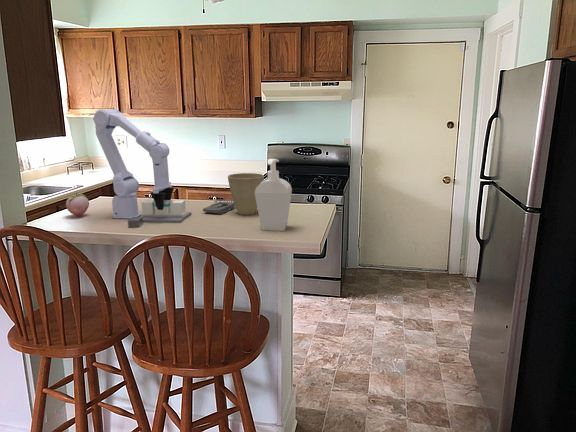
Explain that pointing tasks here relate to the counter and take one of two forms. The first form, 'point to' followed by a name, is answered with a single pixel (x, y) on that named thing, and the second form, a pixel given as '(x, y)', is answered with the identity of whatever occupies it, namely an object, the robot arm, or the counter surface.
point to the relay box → (135, 222)
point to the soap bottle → (273, 200)
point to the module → (164, 208)
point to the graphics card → (220, 206)
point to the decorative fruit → (77, 204)
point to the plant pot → (244, 191)
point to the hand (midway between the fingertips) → (163, 207)
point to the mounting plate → (175, 217)
